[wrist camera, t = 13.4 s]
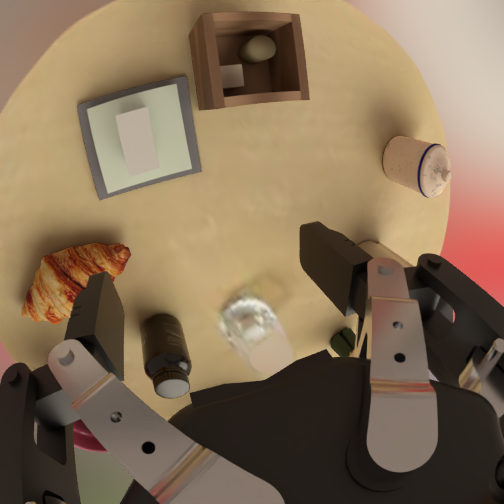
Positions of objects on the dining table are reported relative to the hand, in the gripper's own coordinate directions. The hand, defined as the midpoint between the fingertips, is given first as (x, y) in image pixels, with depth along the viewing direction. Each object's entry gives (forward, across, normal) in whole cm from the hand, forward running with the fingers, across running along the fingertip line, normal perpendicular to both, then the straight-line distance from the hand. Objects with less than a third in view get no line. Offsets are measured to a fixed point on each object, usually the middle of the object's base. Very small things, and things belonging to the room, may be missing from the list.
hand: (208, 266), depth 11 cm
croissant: (+25, +18, +11) cm, 32 cm away
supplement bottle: (+25, +7, +25) cm, 36 cm away
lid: (+24, +3, -4) cm, 24 cm away
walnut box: (+25, -9, -11) cm, 29 cm away
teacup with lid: (+26, -39, +3) cm, 47 cm away
